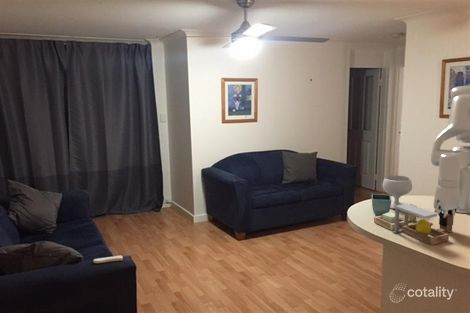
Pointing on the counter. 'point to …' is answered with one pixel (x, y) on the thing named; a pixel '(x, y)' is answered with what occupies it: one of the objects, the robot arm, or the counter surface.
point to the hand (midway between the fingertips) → (446, 224)
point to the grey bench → (412, 210)
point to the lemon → (423, 227)
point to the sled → (392, 226)
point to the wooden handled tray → (438, 233)
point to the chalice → (397, 187)
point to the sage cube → (389, 217)
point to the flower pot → (381, 204)
